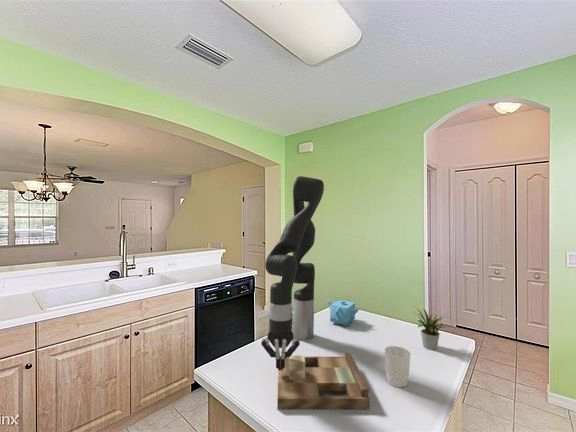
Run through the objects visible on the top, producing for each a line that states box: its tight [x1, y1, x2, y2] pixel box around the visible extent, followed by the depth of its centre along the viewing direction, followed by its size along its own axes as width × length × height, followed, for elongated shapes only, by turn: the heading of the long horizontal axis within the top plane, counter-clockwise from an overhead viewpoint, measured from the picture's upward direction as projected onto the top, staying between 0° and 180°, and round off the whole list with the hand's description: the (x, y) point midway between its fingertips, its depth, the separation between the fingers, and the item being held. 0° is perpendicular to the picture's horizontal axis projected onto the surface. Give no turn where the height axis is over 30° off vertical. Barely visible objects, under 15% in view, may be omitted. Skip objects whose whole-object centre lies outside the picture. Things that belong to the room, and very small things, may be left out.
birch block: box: [289, 355, 305, 379], centre depth 91 cm, size 5×5×5 cm
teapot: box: [325, 299, 360, 328], centre depth 145 cm, size 16×18×11 cm
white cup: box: [384, 345, 411, 388], centre depth 93 cm, size 8×8×10 cm
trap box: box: [276, 352, 370, 410], centre depth 91 cm, size 26×24×5 cm
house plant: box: [413, 306, 447, 351], centre depth 119 cm, size 14×14×16 cm
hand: (280, 369), depth 91 cm, fingers closed
